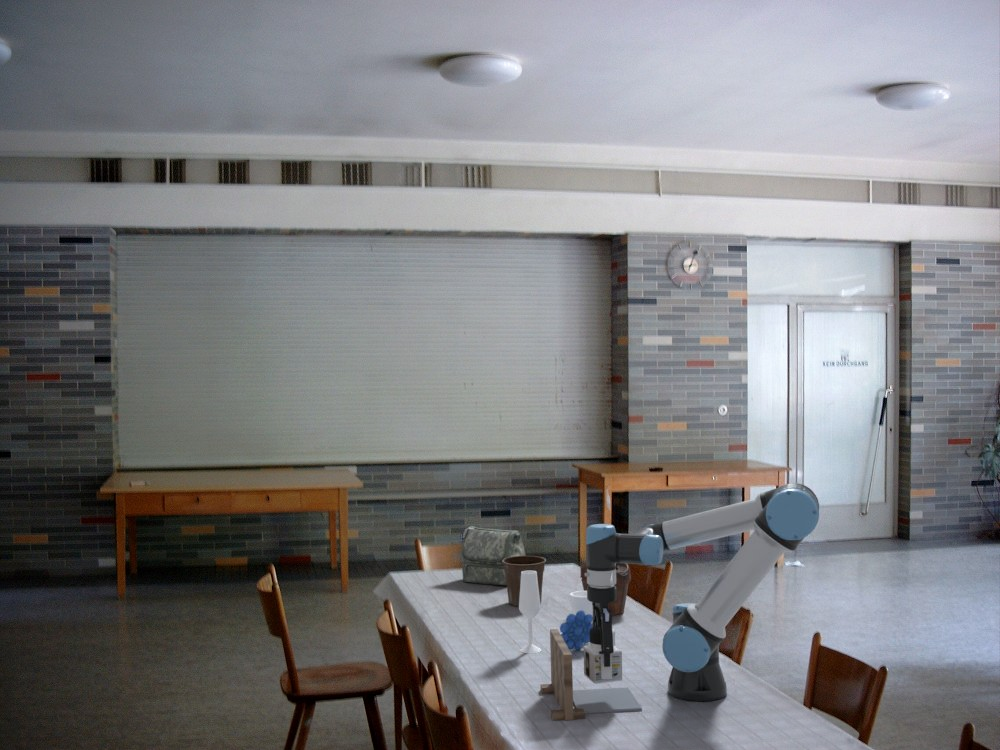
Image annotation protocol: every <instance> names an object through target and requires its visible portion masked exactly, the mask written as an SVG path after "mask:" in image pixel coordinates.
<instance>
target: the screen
mask: <svg viewBox="0 0 1000 750" xmlns="http://www.w3.org/2000/svg"><path fill="white" fill-rule="evenodd" d="M561 634H562V633H561V632H560V630H558V628H553V629H552V628H551V629H549V638H550V641H549V643H550V646H549V647H550V677H551V678H550V679H551V680H550V681H551V682H550V683H545V684H544V683H543V684H540V685H539V686H540V692H541V694H553V695H554V699H555V700H556V702H557V704H558V706H559V709H550V717H551V719H552V721H564V720H565V721H574V720H583V719H586V713H585V711H584V709H583V708H578V709H576V708H574V703H573V690H574V687H573V683H574V682H573V681H574V680H573V678H574V677H573V654H572V652H571V650H569V648H568V647H567V645H566V643H565V641H564V640H563V638H562V636H561Z"/></svg>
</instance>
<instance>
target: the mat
mask: <svg viewBox="0 0 1000 750" xmlns="http://www.w3.org/2000/svg"><path fill="white" fill-rule="evenodd" d="M573 706H575V709H578V708H583V709H584V711H585V714H599V713H601V714H602V713H616V712H618V713H619V712H635V711H636V712H637V711H638V712H639V711H643V707H642V706H641V705H640V703H639V701H638V700H637V698H636V697H635V696H634V694H633V693H632V691H631V690H630V689H629V687H615V688H614V687H613V688H595V689H594V688H592V689H577V690H576V689H573Z"/></svg>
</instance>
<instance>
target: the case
mask: <svg viewBox="0 0 1000 750" xmlns="http://www.w3.org/2000/svg"><path fill="white" fill-rule="evenodd" d="M579 569H580V576H579V577H580V578H581V584H582V589H583V591H587V587H588V585H589V584H588V583H587V576H585V573H587V564H585V565H582V566H581V567H580V568H579ZM631 580H632V575H631V569H630V566H629V564H628V563H616V584H615V587H616V600H615V601H614V602H610V603H608V606H609V609H611V613H612V616H617V615H621V614H624V612H625V606H626V600H627V595H628V589H629V583H630V582H631Z"/></svg>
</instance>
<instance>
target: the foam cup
mask: <svg viewBox="0 0 1000 750" xmlns="http://www.w3.org/2000/svg"><path fill="white" fill-rule="evenodd" d="M569 602H570V605H571V611H572V614H574V615H575V616H576V613H577V612H578V611H584V612H585V615H587V614H591V615H592V617H593V605H592V602H590V601H589V600H588V599H587V591H584V590H576V591H573V592H570V594H569ZM592 622H593V620H592ZM592 622H591V623H592Z"/></svg>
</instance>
